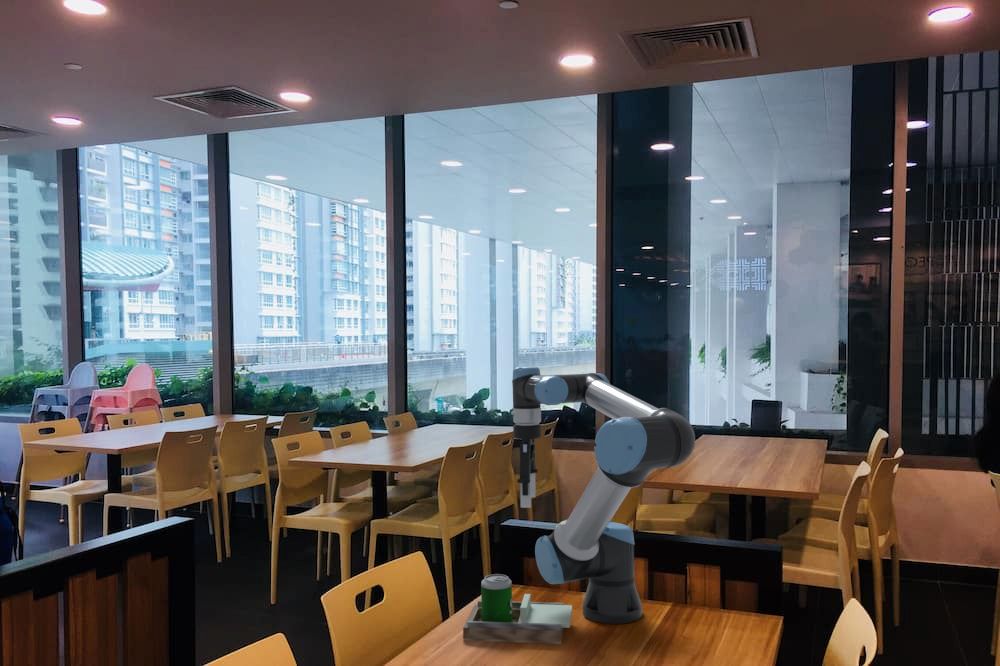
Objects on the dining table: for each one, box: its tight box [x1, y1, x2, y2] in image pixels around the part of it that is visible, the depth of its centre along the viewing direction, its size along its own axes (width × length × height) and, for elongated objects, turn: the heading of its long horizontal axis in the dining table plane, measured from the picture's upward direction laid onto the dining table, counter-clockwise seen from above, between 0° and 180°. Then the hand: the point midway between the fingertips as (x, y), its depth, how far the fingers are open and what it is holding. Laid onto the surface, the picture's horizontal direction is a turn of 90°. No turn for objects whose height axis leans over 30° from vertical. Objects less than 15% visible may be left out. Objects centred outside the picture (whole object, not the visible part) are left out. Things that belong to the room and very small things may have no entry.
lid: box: [520, 593, 573, 629], centre depth 187 cm, size 12×13×4 cm
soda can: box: [480, 573, 513, 622], centre depth 189 cm, size 8×8×12 cm
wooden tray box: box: [462, 600, 565, 645], centre depth 188 cm, size 23×16×4 cm
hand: (528, 502), depth 209 cm, fingers open, 13 cm apart
